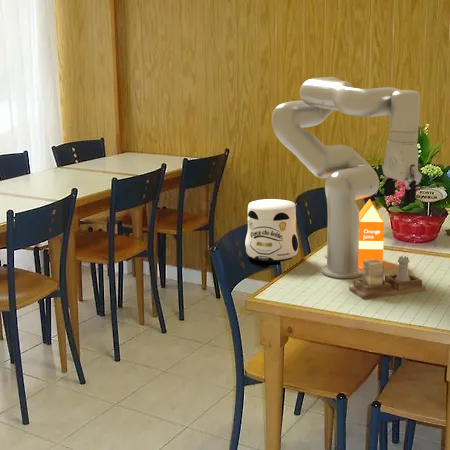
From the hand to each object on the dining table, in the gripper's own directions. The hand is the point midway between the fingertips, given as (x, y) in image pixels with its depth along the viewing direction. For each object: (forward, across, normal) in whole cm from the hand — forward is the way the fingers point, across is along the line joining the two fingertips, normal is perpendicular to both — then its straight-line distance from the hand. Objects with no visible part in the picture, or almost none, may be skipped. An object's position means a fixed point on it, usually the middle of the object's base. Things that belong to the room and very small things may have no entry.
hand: (399, 199), depth 199 cm
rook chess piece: (+25, +1, +3) cm, 25 cm away
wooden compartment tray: (+26, +1, -2) cm, 26 cm away
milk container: (+28, -41, -19) cm, 53 cm away
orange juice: (+27, -23, +6) cm, 36 cm away
